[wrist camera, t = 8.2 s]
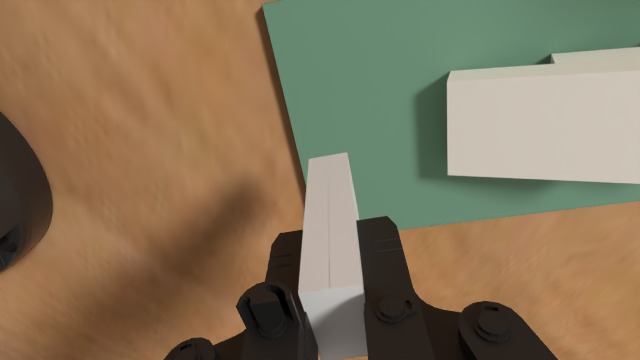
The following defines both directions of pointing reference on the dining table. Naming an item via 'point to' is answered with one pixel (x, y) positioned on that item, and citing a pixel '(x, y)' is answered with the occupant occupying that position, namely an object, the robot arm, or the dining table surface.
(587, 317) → the dining table surface
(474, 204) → the felt mat
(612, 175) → the domino
